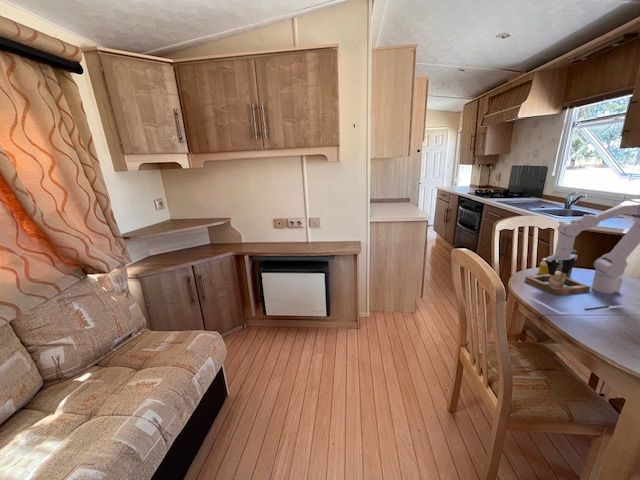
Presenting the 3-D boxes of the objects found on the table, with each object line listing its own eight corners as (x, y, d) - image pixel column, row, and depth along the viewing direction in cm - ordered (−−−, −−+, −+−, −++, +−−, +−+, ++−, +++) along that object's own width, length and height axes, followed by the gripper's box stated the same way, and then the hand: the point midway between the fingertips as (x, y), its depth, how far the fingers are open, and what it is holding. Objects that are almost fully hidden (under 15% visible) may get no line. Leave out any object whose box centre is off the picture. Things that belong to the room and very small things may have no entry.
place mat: (580, 295, 121) (581, 294, 120) (609, 307, 110) (609, 306, 110) (560, 297, 119) (560, 297, 119) (586, 310, 109) (587, 309, 109)
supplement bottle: (540, 272, 146) (543, 256, 143) (552, 275, 141) (555, 259, 139) (536, 275, 143) (539, 259, 140) (548, 278, 139) (552, 261, 136)
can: (572, 277, 139) (579, 250, 135) (564, 278, 138) (570, 251, 134) (560, 272, 145) (566, 247, 141) (551, 274, 143) (557, 248, 139)
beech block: (554, 283, 131) (557, 270, 129) (563, 287, 127) (566, 274, 125) (547, 284, 130) (550, 271, 128) (555, 287, 126) (559, 274, 124)
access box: (554, 279, 137) (556, 273, 136) (588, 293, 122) (590, 286, 121) (524, 282, 135) (525, 276, 134) (555, 297, 120) (556, 290, 119)
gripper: (568, 243, 128) (562, 269, 131) (542, 246, 126) (537, 271, 130) (584, 248, 121) (577, 274, 125) (557, 250, 119) (551, 277, 123)
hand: (558, 273), depth 127 cm, fingers open, 7 cm apart
